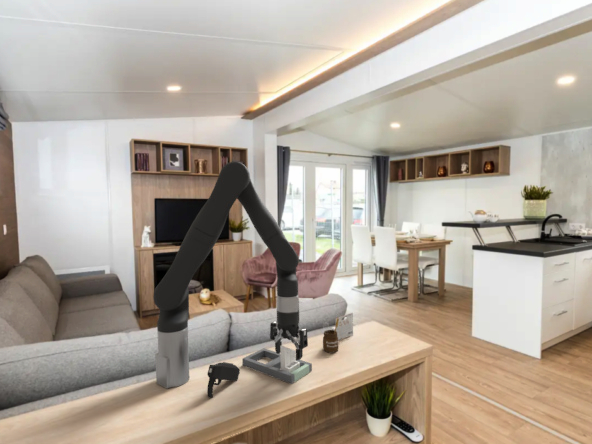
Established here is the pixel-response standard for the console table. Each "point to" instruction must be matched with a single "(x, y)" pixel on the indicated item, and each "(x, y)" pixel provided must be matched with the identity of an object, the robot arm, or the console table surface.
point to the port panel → (275, 366)
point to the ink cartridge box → (344, 326)
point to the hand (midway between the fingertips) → (288, 356)
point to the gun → (221, 375)
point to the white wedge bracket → (288, 359)
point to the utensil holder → (330, 339)
